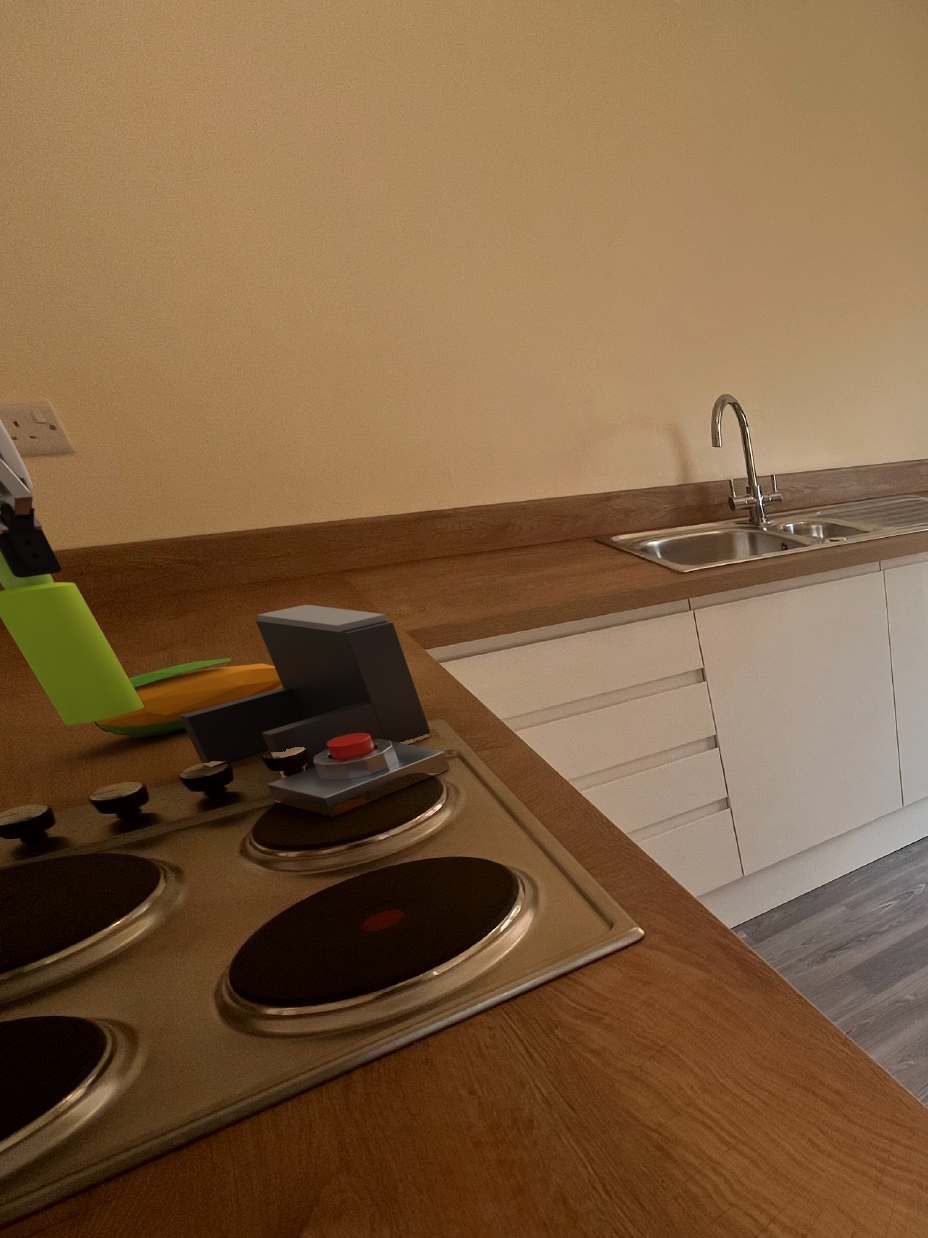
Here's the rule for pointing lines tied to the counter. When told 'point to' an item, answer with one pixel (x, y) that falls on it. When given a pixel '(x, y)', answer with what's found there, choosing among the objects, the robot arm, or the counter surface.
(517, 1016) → the counter surface
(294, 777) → the button block
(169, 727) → the corn
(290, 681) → the coffee maker
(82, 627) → the soap dispenser
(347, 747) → the button
